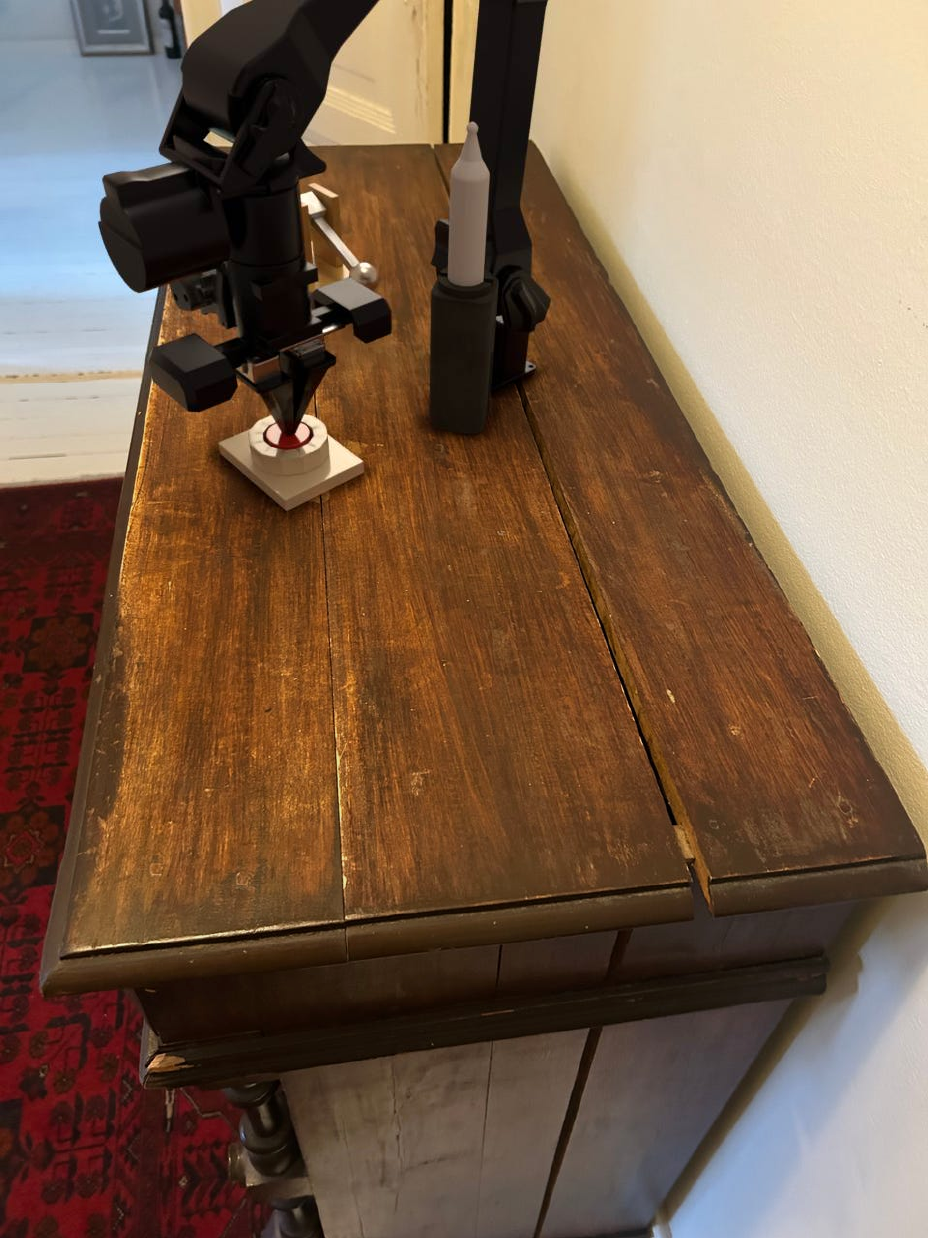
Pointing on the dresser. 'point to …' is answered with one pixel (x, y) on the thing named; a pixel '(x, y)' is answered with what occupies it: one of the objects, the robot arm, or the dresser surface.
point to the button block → (292, 462)
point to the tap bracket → (318, 248)
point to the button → (288, 438)
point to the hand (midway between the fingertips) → (288, 432)
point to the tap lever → (339, 244)
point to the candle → (464, 304)
